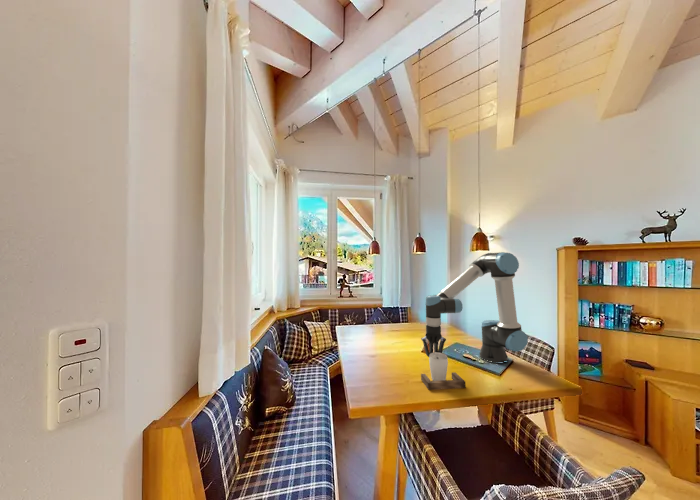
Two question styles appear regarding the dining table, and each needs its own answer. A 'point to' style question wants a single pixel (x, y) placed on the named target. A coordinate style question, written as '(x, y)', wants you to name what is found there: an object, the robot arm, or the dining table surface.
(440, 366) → the cup
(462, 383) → the walnut pocket
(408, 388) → the dining table surface
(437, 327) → the robot arm
